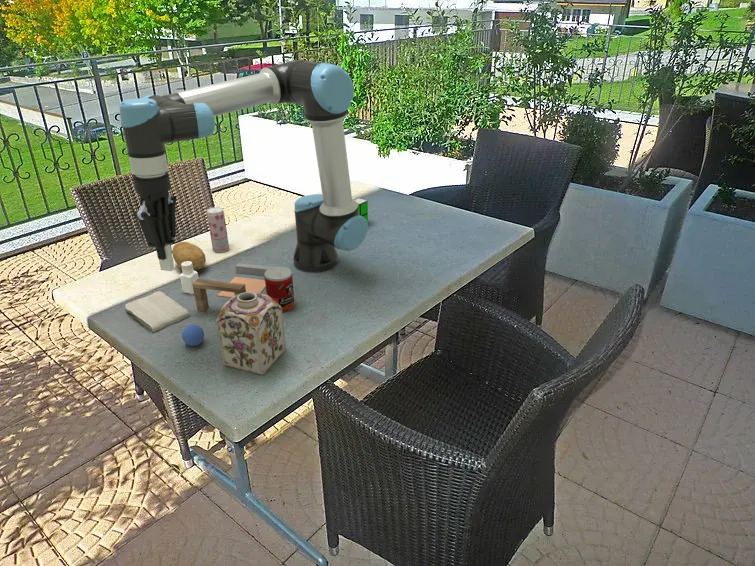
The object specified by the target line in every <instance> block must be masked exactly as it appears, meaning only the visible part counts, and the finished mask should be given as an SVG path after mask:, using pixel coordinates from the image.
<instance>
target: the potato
mask: <svg viewBox="0 0 755 566" xmlns="http://www.w3.org/2000/svg"><path fill="white" fill-rule="evenodd" d="M172 258H173V261H174V262H175V264H176V265H177V267H179V268H181V269H182V266H181V264H182V263H183V262H186V261H191V262H192V265H193V271H197V270H199V269H201V268H203V267H204V265H205V264H206V262H207V259H206V254H205V252H204V251H203V249H201V248H200V247H199V246H198V245H197V244H193V243H190V242H188V241H179V242H177V243H176V242H175V244H174V245H173V246H172Z"/></svg>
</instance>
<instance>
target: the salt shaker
mask: <svg viewBox="0 0 755 566" xmlns="http://www.w3.org/2000/svg"><path fill="white" fill-rule="evenodd" d="M181 266H182V268H181V270H182V273H180V275H179V278H180V282H181V283H180V284H181V288H182V292H183V293H185V294H189V295H194V290H193V285H192V284H193V283H194V282H195V281H196V280H197V279H200V278H199V273H198V272H197V270H193V265H192V262H191V261H186V262H183V263H182V264H181Z"/></svg>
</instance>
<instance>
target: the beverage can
mask: <svg viewBox="0 0 755 566" xmlns="http://www.w3.org/2000/svg"><path fill="white" fill-rule="evenodd" d="M206 216H207V222H208V228H209V236H210V242H211V248H212V251H213V252H214V253H217V254H222V253H226V252H228V251H229V249H230V245H229V244H230V243H229V236H228V231H227V224H226V218H225V211H224V209H223V208H222V207H218V206H216V207H210V208H208V209H207V210H206Z"/></svg>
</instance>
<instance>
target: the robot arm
mask: <svg viewBox="0 0 755 566" xmlns="http://www.w3.org/2000/svg"><path fill="white" fill-rule="evenodd" d="M354 96H355V89H354V83H353V80H352V78H351V76H350V74H349V73H348V72H347V71H346V70H345V69H344V68H343V67H341V66H339V65H335V64H333V63H330V62H320V61H314V60H312V61H309V60H306V59H297V60H296V59H295V60H291V61H286V62H282V63H279V64H276V65H271V66H268V67H263V68H262V69H260V71H259V73H255V74H250V75H247V76H243V77H238V78H234V79H228V80H225V81H221V82H216V83H213V84H208V85H204V86H203V85H202V86H198V87H194V88H190V89H187V90H182V91H178V92H174V93H173V92H172V93H169V94H164V95H158V94H147V95H146V96H143V97H141V98H137V97H136V98H127V99H124V100H123V101H121V102H120V104H119V108H118V109H119V116H120V125H121V128H122V132H123V136H124V141H125V146H126V149H127V156H128V160H129V166H130V172H131V174H133V175H132V177H131V178H132V183H133V189H134V191H135V192H136V193H137V194H138V196H139V198H140V200H139V205H140V208H139V209H138V211H137V210H135V211H134V212H133V216H134V217H135V218H136V220H138V224H139V226H140V229H141V230H142V234H143V236H144V238H145V241H146V242H147V246H148V247H150V248H155V250H156V256H157V259H158V261H159V262H158V263H159V266H160V267H159V268H160V271H165V272H172V271H173V270H175V265H174V259H173V254H172V249H173V247H172V244H174V243H176V240H175V239H173V238H176V230H177V229H176V224H177V223H176V203H177V199H178V198H177V196H176V195H172V194H170V192H169V191H170V190H171V187H172V186H171V180H170V179H171V178H170V174H169V172H168V171H169V167H168V161H167V155H166V149H165V144H169V143H170V144H171V143H175V142H183V141H188V140H189V141H190V140H191V141H192V140H196V139H198V140H200V139H202V138H206V137H210V136H212V135H213V134H214V132H215V129H216V127H215V126H216V122H215V117H218V116H222V115H226V114H229V113H233V112H237V111H238V112H239V111H240V110H244V109H249V108H252V107H256V106H259V105H264V104H267V103H268V104H269V105H270V106H271V105H272V106H274V105H279V104H295V105H298V106H303V114H304V119H305V121H307V122H308V123H309V124H310V125H311V128H312V135H313V140H314V147H315V155H316V161H317V168H318V173H319V181H320V188H321V193H315V194H309V195H304V196H301V197H299V198H297V199H296V200H295V202H294V212H293V213H294V218H295V219H294V220H295V230H296V232H295V233H296V245H295V249H294V253H293V258H292V259H293V260H292V261H293V266H294V267H295V268H296V269H298V270H300V271H303V272H307V273H308V272H309V273H321V272H326V271H329V270H332V269H334V268H335V267H337V266H338V264H339V261H340V259H339V253H338V250H341V251H344V252H350V251H354V250H356V249H357V248H359V247H360V246H361V245H362V243H363V242H364V240H365V239H366V236H367V234H368V229H369V222H368V223H367V221H366V219H365V218H364V217H363V216H360V215H359V211H358V204H357V202H356V201H355V200H353V199H352V197H353V196H352V195H353V194H352V189H351V188H352V186H351V179H350V170H349V169H350V168H349V162H348V154H347V153H348V151H347V146H346V137H345V135H346V134H345V127H344V119H345V118H346V117H347V116H348V109H349V108H350V106H351V105H352V101H353V100H354ZM337 249H338V250H337Z"/></svg>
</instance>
